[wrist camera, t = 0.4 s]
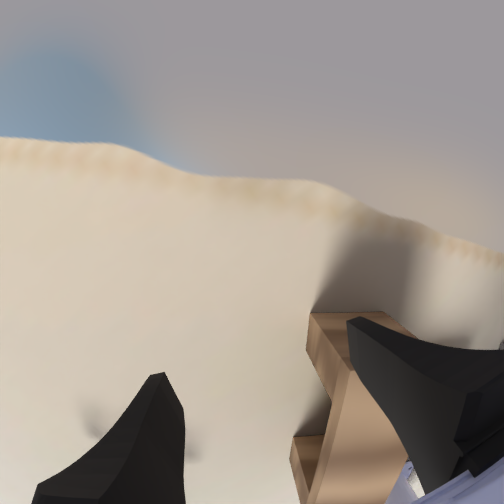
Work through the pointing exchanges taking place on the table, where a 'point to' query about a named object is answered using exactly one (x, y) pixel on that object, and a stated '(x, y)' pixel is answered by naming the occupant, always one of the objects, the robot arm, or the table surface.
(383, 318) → the wooden bridge block
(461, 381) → the robot arm
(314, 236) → the table surface
